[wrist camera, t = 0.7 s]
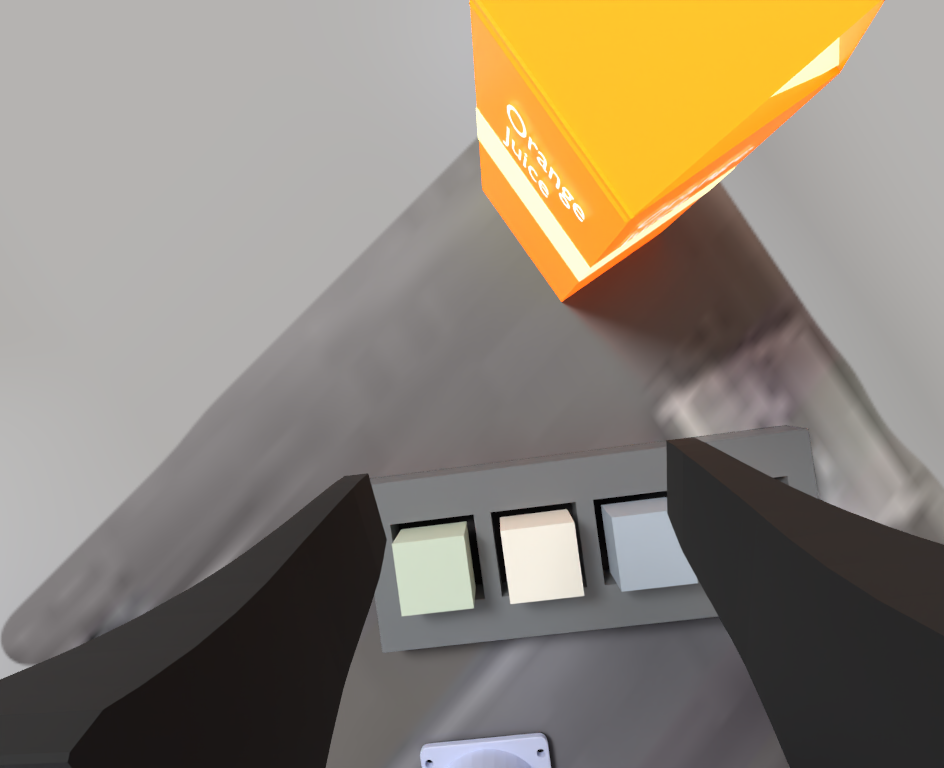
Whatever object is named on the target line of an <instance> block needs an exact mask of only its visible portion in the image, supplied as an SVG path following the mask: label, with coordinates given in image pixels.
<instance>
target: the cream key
mask: <svg viewBox="0 0 944 768" xmlns="http://www.w3.org/2000/svg"><path fill="white" fill-rule="evenodd" d="M500 532H501V539H502V547H503V554H504V561H505V568H506V576H507V583H508V590H509V597H510V604H517V603H526V602H535V601H544V600H553V599H561V598H570V597H579V596H584V589H583V582H582V575H581V568H580V560H579V553H578V546H577V539H576V531H575V524H574V521H573V519H572V517H571V515H570V514H569V512H568V510H567V509H564V510H555V511H547V512H539V513H531V514H523V515H514V516H506V517H500Z"/></svg>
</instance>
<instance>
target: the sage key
mask: <svg viewBox="0 0 944 768" xmlns="http://www.w3.org/2000/svg"><path fill="white" fill-rule="evenodd" d="M392 549H393V556H394V564H395V571H396V578H397V585H398V593H399V600H400V607H401V615H402V616H410V615H419V614H428V613H437V612H445V611H454V610H463V609H472V608H474V602H475V591H476V585H475V578H474V570H473V563H472V556H471V549H470V541H469V534H468V527H467V521H465V522H457V523H449V524H441V525H433V526H424V527H416V528H408V529H401V530H400V532H399V534H398V535H397V537H396V538H395V540H394V541H393V543H392Z"/></svg>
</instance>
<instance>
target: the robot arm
mask: <svg viewBox="0 0 944 768" xmlns="http://www.w3.org/2000/svg"><path fill="white" fill-rule="evenodd" d="M666 446H667V514H668V517H669V519H670V522H671V524H672V527H673V530H674V532H675V535H676V537H677V540H678V542H679V544H680V547H681V549H682V552H683V553H684V555H685V557H686V559H687V561H688V563H689V564H690V566H691V568H692V570H693V572H694V573H695V575H696V577H697V579H698V581H699V582H700V584H701V586H702V588H703V590H704V591H705V593H706V595H707V597H708V598H709V600H710V602H711V604H712V605H713V607H714V609H715V611H716V612H717V614H718V616H719V618H720V620H721V621H722V623H723V625H724V627H725V628H726V630H727V632H728V634H729V635H730V637H731V639H732V641H733V643H734V644H735V646H736V648H737V650H738V652H739V654H740V656H741V658H742V660H743V662H744V664H745V666H746V668H747V670H748V672H749V675H750V677H751V679H752V681H753V684H754V686H755V688H756V690H757V693H758V695H759V697H760V699H761V702H762V704H763V706H764V708H765V710H766V713H767V715H768V717H769V719H770V722H771V724H772V727H773V729H774V731H775V734H776V736H777V738H778V741H779V743H780V745H781V748H782V750H783V752H784V755H785V757H786V759H787V762H788V764H789V766H790V768H944V545H942V544H939V543H936V542H933V541H930V540H926V539H923V538H920V537H917V536H914V535H911V534H908V533H905V532H902V531H899V530H896V529H893V528H891V527H888V526H885V525H882V524H880V523H877V522H875V521H872V520H869V519H867V518H864V517H861V516H859V515H856V514H853V513H851V512H848V511H846V510H843V509H841V508H838V507H836V506H833V505H831V504H829V503H826V502H824V501H822V500H820V499H817V498H815V497H813V496H811V495H808V494H806V493H804V492H802V491H800V490H797V489H795V488H793V487H791V486H789V485H787V484H785V483H783V482H781V481H778V480H776V479H774V478H772V477H770V476H768V475H766V474H764V473H763V472H761V471H759V470H757V469H755V468H753V467H751V466H749V465H747V464H745V463H743V462H741V461H739V460H738V459H736V458H734V457H732V456H730V455H728V454H726V453H724V452H722V451H721V450H719V449H717V448H715V447H713V446H711V445H709V444H707V443H705V442H703V441H701V440H699V439H696V438H685V439H675V440H666ZM386 542H387V538H386V535H385V531H384V528H383V524H382V521H381V517H380V514H379V510H378V507H377V503H376V500H375V496H374V493H373V489H372V486H371V482H370V479H369V475H368V474H360V475H351V476H344V477H343V478H341V479H340V480H338V481H337V482H335V483H334V484H333V485H331V486H330V487H329V488H328V489H326V490H325V491H324V492H323V493H321V494H320V495H319V496H318V497H316V498H315V499H314V500H313V501H311V502H310V503H309V504H308V505H306V506H305V507H304V508H303V509H301V510H300V511H299V512H298V513H296V514H295V515H294V516H293V517H291V518H290V519H289V520H288V521H286V522H285V523H284V524H283V525H281V526H280V527H279V528H277V529H276V530H275V531H273V532H272V533H271V534H269V535H268V536H267V537H265V538H264V539H263V540H261V541H260V542H259V543H257V544H256V545H255V546H253V547H252V548H251V549H249V550H248V551H247V552H245V553H244V554H242V555H241V556H239V557H238V558H237V559H235V560H234V561H232V562H231V563H229V564H228V565H226V566H225V567H223V568H222V569H220V570H218V571H217V572H215V573H214V574H212V575H211V576H209V577H207V578H206V579H204V580H203V581H201V582H200V583H198V584H196V585H195V586H193V587H191V588H190V589H188V590H186V591H184V592H182V593H181V594H179V595H177V596H175V597H173V598H172V599H170V600H168V601H166V602H165V603H163V604H161V605H159V606H157V607H156V608H154V609H152V610H150V611H148V612H147V613H145V614H143V615H141V616H139V617H137V618H135V619H133V620H131V621H129V622H127V623H125V624H123V625H121V626H119V627H118V628H116V629H114V630H112V631H110V632H107V633H105V634H103V635H101V636H99V637H97V638H95V639H93V640H91V641H88V642H86V643H84V644H82V645H80V646H78V647H76V648H73V649H71V650H69V651H67V652H65V653H62V654H60V655H58V656H56V657H53V658H51V659H48V660H46V661H44V662H41V663H39V664H36V665H34V666H32V667H29V668H27V669H25V670H22V671H20V672H17V673H15V674H13V675H10V676H8V677H6V678H3V679H1V680H0V768H325V767H326V763H327V758H328V753H329V748H330V744H331V739H332V734H333V730H334V726H335V722H336V717H337V713H338V709H339V705H340V700H341V696H342V692H343V688H344V684H345V681H346V678H347V674H348V671H349V667H350V664H351V662H352V659H353V656H354V653H355V650H356V647H357V644H358V641H359V638H360V635H361V632H362V629H363V626H364V623H365V620H366V617H367V614H368V612H369V609H370V606H371V603H372V599H373V596H374V593H375V590H376V587H377V584H378V581H379V578H380V573H381V569H382V564H383V559H384V553H385V547H386ZM539 749H543V750H544V751H543V752H538V750H539ZM420 758H421V765H422V768H551V762H550V755H549V748H548V741H547V737H546V736H545V735H544V734H542V733H532V734H522V735H511V736H501V737H491V738H480V739H470V740H460V741H450V742H439V743H429V744H425V745H424V746H423V747H422V749H421V753H420ZM426 760H431V761H433V762H432V763H428V762H427V761H426Z"/></svg>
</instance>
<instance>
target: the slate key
mask: <svg viewBox="0 0 944 768" xmlns="http://www.w3.org/2000/svg"><path fill="white" fill-rule="evenodd" d="M601 510H602V517H603V524H604V532H605V539H606V546H607V553H608V561H609V568H610V573H611V574H612V576H613V578H614V579H615V581H616V583H617V584H618V586H619V588H620V589H621V591H622V592H624V591H633V590H642V589H651V588H660V587H669V586H677V585H686V584H695V583H698V582H697V577H696V575H695V573H694V572H693V570H692V568H691V566H690V564H689V563H688V561H687V559H686V557H685V555H684V553H683V552H682V549H681V547H680V544H679V542H678V540H677V537H676V535H675V532H674V530H673V527H672V524H671V522H670V519H669V517H668V514H667V497H662V498H654V499H645V500H637V501H629V502H621V503H613V504H605V505H601Z"/></svg>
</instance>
